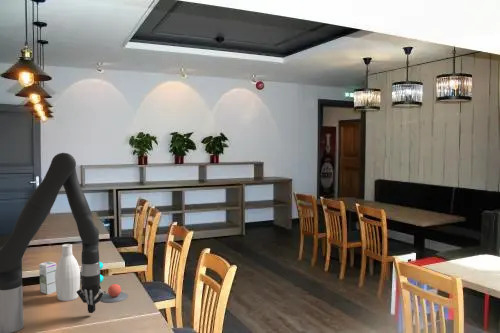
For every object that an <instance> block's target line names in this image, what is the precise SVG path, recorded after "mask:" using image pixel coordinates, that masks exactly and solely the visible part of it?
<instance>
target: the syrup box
mask: <svg viewBox="0 0 500 333" xmlns="http://www.w3.org/2000/svg"><path fill="white" fill-rule="evenodd" d="M38 266H39V268H38V269H39V270H38V271H39V292H40V293H41V294H45V295H51V294H54V293H57V292H56V284H55V272H56V268H57V263H56V262H53V261H50V260H49V261H44V262H42V263H39V264H38Z"/></svg>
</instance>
